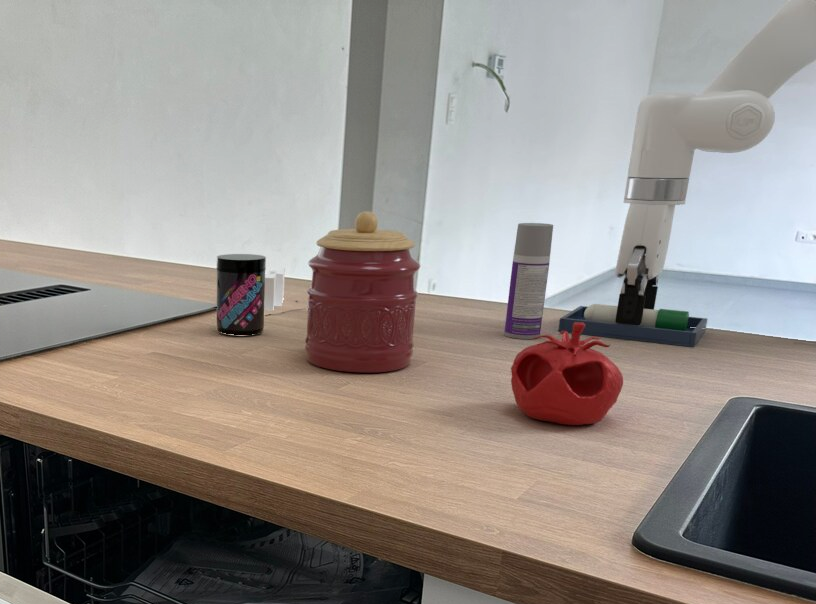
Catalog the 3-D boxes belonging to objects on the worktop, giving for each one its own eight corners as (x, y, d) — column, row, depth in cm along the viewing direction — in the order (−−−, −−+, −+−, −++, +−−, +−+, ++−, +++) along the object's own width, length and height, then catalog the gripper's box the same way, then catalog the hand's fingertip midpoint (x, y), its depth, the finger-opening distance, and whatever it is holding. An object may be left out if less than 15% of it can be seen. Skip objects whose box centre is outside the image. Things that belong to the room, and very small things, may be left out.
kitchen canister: (405, 378, 97) (418, 217, 91) (293, 369, 101) (298, 213, 95) (417, 353, 108) (429, 209, 102) (316, 346, 112) (323, 206, 106)
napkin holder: (272, 296, 149) (273, 263, 147) (324, 305, 141) (325, 269, 139) (210, 307, 139) (210, 271, 137) (262, 316, 131) (263, 279, 129)
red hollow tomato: (528, 396, 90) (540, 308, 87) (629, 414, 84) (645, 320, 81) (490, 417, 83) (501, 322, 80) (597, 439, 77) (613, 337, 74)
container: (506, 331, 122) (519, 222, 117) (541, 334, 120) (556, 223, 115) (501, 337, 118) (514, 225, 113) (537, 340, 116) (552, 226, 111)
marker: (580, 326, 124) (583, 304, 123) (585, 321, 127) (588, 299, 125) (682, 337, 117) (686, 314, 116) (686, 331, 119) (690, 309, 118)
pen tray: (705, 331, 122) (707, 318, 122) (693, 347, 113) (696, 333, 112) (578, 318, 131) (580, 305, 131) (558, 331, 122) (559, 318, 121)
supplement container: (206, 333, 120) (206, 257, 116) (234, 325, 125) (235, 252, 121) (246, 339, 116) (247, 261, 112) (273, 331, 121) (275, 256, 118)
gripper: (637, 188, 124) (618, 306, 130) (612, 194, 111) (592, 325, 117) (695, 190, 120) (673, 312, 126) (676, 196, 107) (653, 331, 113)
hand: (634, 318), depth 121 cm, fingers open, 9 cm apart
